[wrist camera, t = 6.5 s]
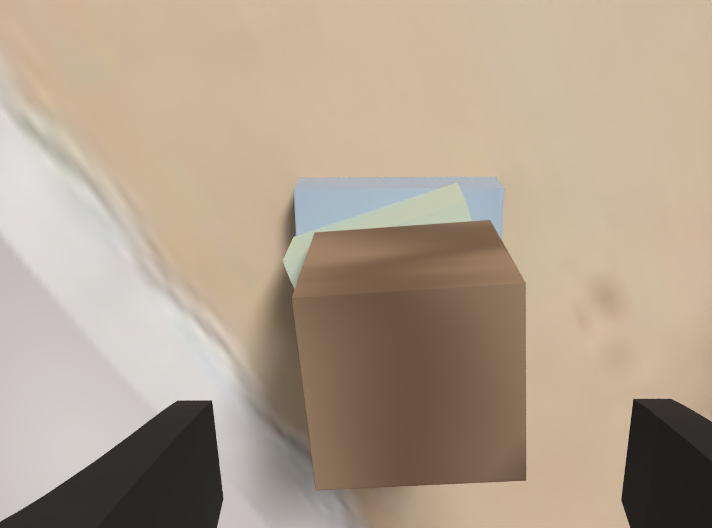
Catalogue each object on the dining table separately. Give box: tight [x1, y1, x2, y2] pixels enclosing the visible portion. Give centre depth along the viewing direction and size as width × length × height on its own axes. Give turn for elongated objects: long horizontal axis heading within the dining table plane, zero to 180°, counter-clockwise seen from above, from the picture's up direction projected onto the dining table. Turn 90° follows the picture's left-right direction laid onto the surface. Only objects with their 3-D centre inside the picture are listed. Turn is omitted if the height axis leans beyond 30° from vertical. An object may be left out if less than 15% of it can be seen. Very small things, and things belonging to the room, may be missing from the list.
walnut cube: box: [292, 220, 526, 490], centre depth 16 cm, size 4×4×4 cm
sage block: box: [283, 183, 472, 290], centre depth 19 cm, size 5×5×2 cm
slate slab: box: [294, 177, 504, 239], centre depth 21 cm, size 6×6×2 cm
